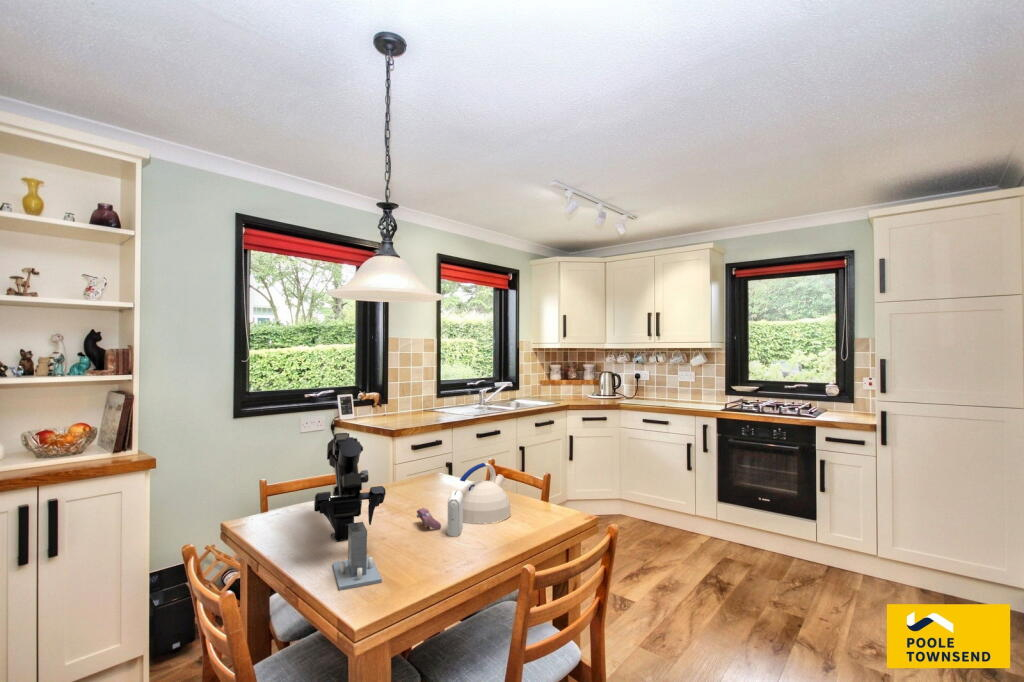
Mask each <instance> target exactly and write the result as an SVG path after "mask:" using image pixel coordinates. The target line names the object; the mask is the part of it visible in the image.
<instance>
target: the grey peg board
mask: <svg viewBox="0 0 1024 682" xmlns="http://www.w3.org/2000/svg"><path fill="white" fill-rule="evenodd" d="M332 568H333V572H334V577H335V580H336V584H337V587H338V591H342V590H343V591H344V590H347V589H349V590H350V589H354V588H359V587H364V586H369V585H374V584H380V583H382V582H383V579H382V576H381V574H380V571H379V570H378V567H377V566H376V563H375V560H374V558H373V556H372V555H369V556H367V566H366V575H362V568H357V576H356V577H351V575H350V571H349V568H348V559H346V560H339V561H334V562H332Z"/></svg>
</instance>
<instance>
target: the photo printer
mask: <svg viewBox="0 0 1024 682" xmlns="http://www.w3.org/2000/svg"><path fill="white" fill-rule="evenodd" d="M461 491H462V490H456V489H454V490H452V492H451V493H450V494H449V497H448V500H447V527H446V528H447V530H446V531H447V535H448V536H449V537H458V536H460V534H461V532H462V529H463V524H464V522H463V494H462V493H461Z"/></svg>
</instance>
